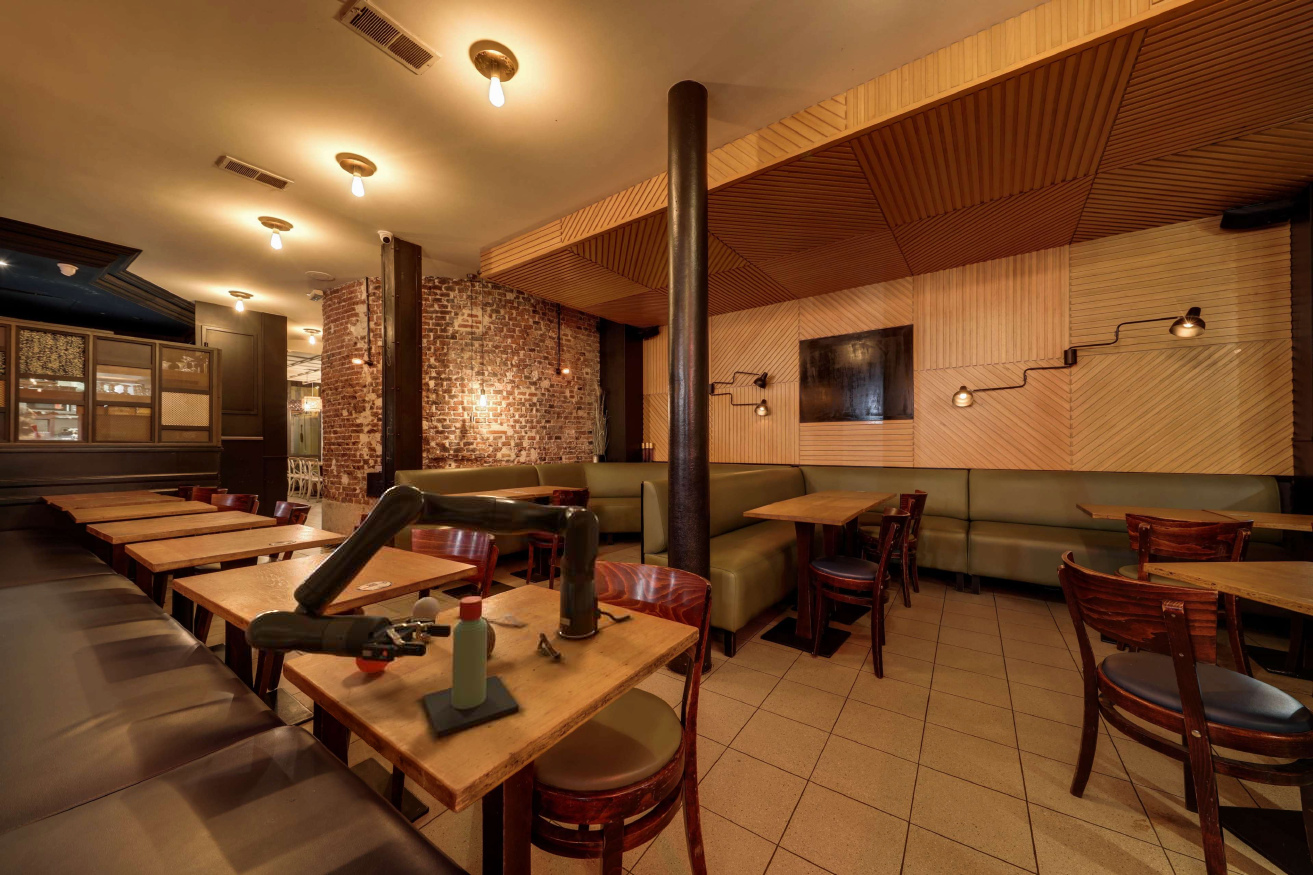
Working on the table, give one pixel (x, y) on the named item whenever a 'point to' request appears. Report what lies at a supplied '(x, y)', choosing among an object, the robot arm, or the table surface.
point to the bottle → (469, 663)
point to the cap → (470, 608)
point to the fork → (507, 619)
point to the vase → (490, 638)
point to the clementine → (371, 665)
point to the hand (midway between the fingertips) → (438, 639)
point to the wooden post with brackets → (554, 654)
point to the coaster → (457, 719)
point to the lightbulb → (426, 611)
